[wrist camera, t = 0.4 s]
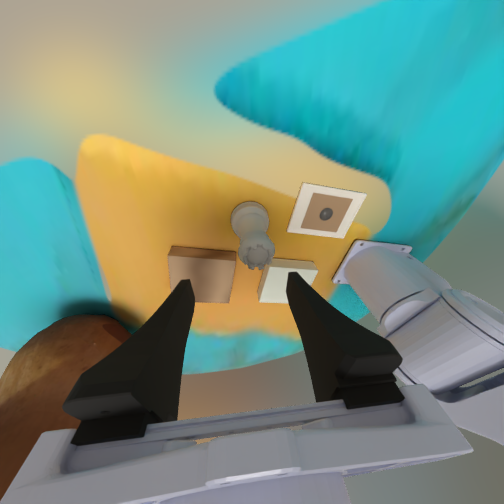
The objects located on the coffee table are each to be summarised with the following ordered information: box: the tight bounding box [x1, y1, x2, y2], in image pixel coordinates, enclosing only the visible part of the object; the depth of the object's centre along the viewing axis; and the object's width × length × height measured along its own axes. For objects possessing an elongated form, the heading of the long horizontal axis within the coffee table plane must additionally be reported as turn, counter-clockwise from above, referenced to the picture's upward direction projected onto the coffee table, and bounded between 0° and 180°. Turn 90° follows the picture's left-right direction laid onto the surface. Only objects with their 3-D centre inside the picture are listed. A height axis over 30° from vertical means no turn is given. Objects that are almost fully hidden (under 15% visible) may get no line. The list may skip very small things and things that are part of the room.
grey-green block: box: [257, 258, 318, 303], centre depth 27 cm, size 7×7×2 cm
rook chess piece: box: [231, 202, 275, 270], centre depth 18 cm, size 4×4×8 cm
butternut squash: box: [0, 314, 132, 501], centre depth 20 cm, size 14×13×25 cm
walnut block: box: [168, 246, 236, 303], centre depth 25 cm, size 8×8×2 cm
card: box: [286, 182, 367, 238], centre depth 22 cm, size 8×6×1 cm
